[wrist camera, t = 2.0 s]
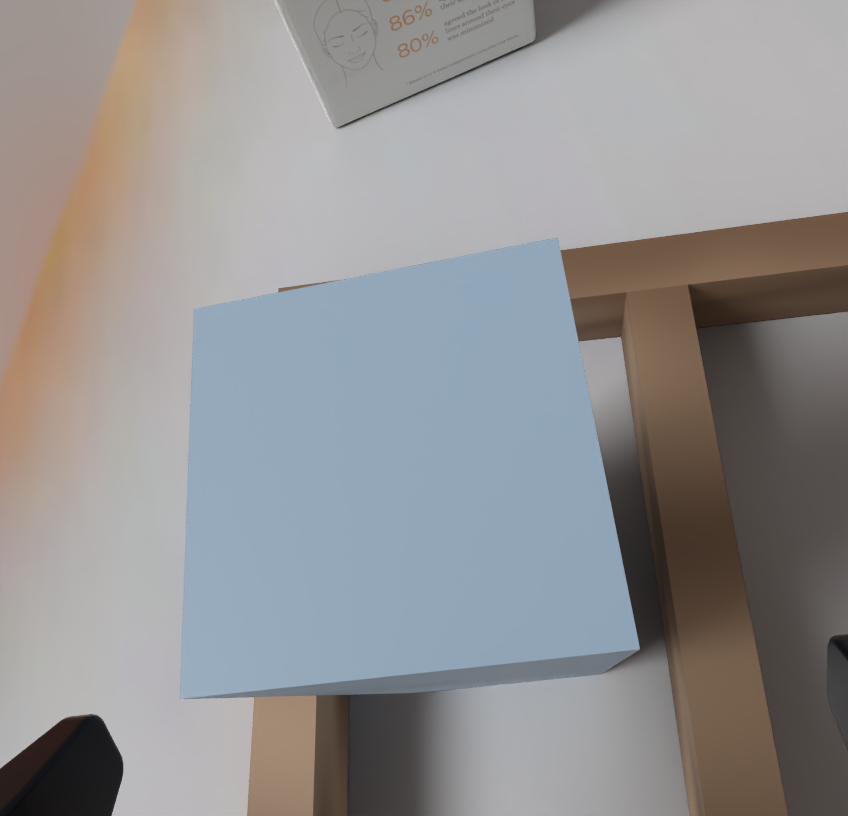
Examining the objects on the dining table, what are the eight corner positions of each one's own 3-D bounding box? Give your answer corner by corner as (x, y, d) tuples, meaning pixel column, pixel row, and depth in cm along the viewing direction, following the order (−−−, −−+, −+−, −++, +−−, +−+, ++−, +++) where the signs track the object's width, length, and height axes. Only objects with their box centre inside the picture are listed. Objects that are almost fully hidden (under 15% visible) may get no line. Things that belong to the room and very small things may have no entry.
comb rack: (1322, 935, 13) (1477, 987, 11) (286, 906, 17) (239, 940, 15) (1036, 239, 19) (1097, 178, 17) (308, 328, 23) (278, 288, 20)
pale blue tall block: (570, 496, 19) (557, 237, 8) (601, 673, 17) (639, 649, 6) (407, 519, 20) (193, 308, 9) (422, 692, 18) (179, 699, 7)
